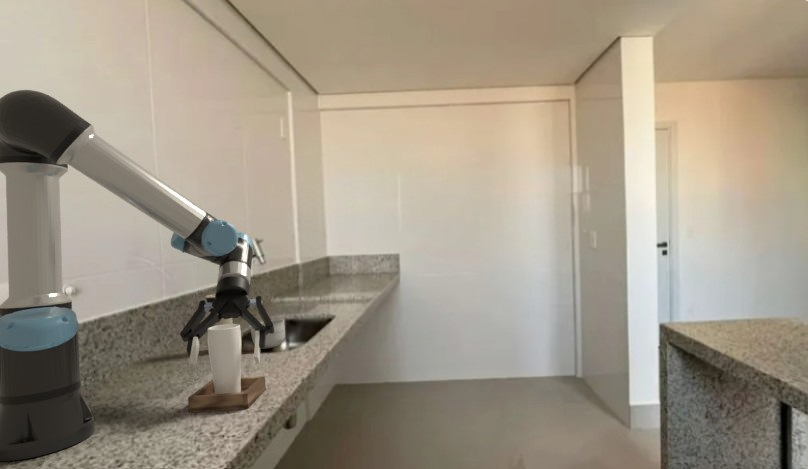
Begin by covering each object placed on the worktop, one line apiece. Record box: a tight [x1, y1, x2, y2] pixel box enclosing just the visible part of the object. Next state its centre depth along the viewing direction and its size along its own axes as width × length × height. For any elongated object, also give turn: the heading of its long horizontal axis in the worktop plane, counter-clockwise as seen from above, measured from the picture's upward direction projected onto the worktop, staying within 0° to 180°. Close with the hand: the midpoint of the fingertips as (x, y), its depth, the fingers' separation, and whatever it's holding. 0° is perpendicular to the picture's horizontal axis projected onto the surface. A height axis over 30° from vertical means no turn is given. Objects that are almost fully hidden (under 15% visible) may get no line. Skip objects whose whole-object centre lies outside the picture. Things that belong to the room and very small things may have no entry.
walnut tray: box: [187, 375, 267, 413], centre depth 101 cm, size 12×12×3 cm
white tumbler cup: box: [206, 323, 243, 394], centre depth 101 cm, size 7×7×15 cm
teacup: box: [249, 319, 286, 350], centre depth 156 cm, size 14×11×8 cm
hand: (224, 363), depth 99 cm, fingers open, 12 cm apart
